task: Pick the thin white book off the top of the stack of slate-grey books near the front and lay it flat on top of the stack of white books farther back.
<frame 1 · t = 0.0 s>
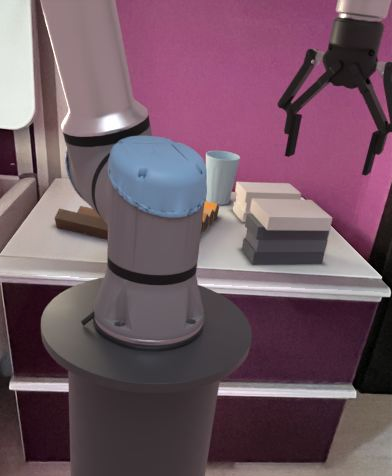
hand: (326, 164, 94), 18 cm above the table, tool pointing down, fingers open, 13 cm apart
cup: (217, 201, 130), on the table
white book: (288, 220, 102), point 7 cm above the table, touching grey books
white books: (264, 217, 124), on the table
grey books: (281, 256, 106), on the table
pan flute: (141, 223, 114), on the table
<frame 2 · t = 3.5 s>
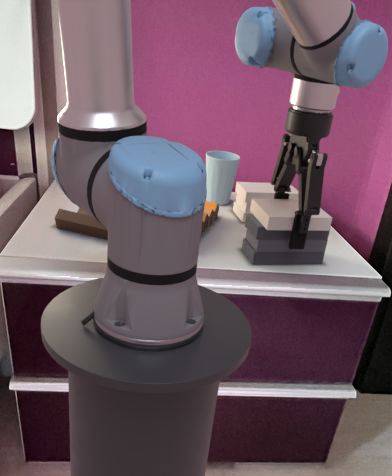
hand: (285, 237, 104), 4 cm above the table, tool pointing down, fingers closed on white book, 9 cm apart
white book: (288, 220, 102), point 7 cm above the table, touching grey books, gripper
everything else where it was.
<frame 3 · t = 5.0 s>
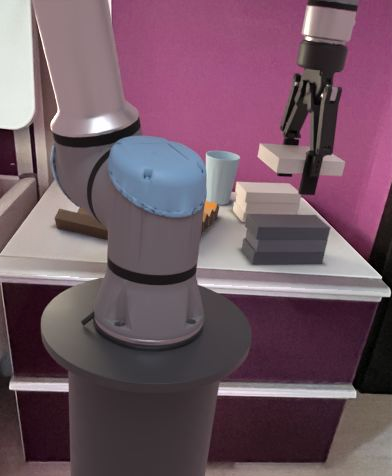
hand: (294, 184, 99), 14 cm above the table, tool pointing down, fingers closed on white book, 9 cm apart
white book: (298, 166, 97), point 17 cm above the table, touching gripper
everything else where it was.
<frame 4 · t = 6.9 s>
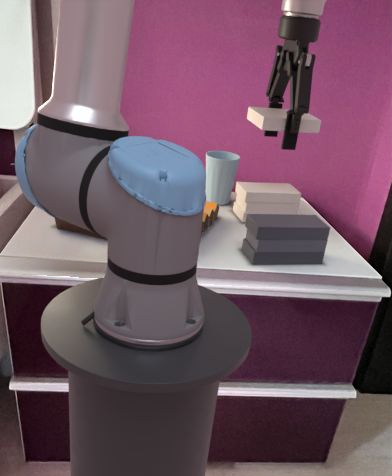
hand: (279, 142, 114), 16 cm above the table, tool pointing down, fingers closed on white book, 9 cm apart
white book: (282, 125, 113), point 19 cm above the table, touching gripper
everything else where it was.
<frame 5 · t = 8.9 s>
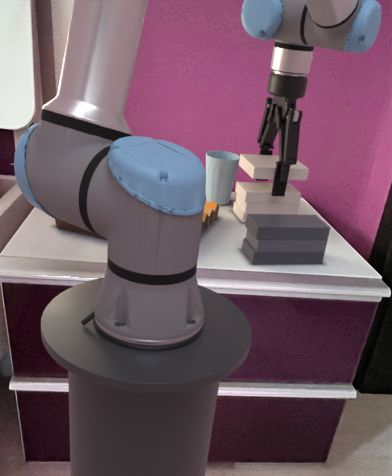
hand: (269, 187, 121), 7 cm above the table, tool pointing down, fingers closed on white book, 9 cm apart
white book: (272, 172, 119), point 10 cm above the table, touching gripper
everything else where it was.
when the fingers open (3 cm above the table, at t = 10.3 s): white book stays where it is, resting on white books.
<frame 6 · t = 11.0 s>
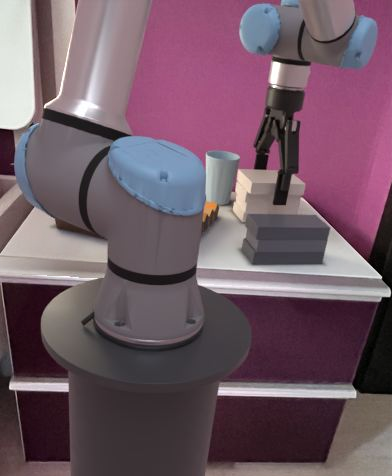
hand: (267, 194, 121), 5 cm above the table, tool pointing down, fingers open, 13 cm apart
white book: (269, 187, 121), point 7 cm above the table, touching white books
everything else where it was.
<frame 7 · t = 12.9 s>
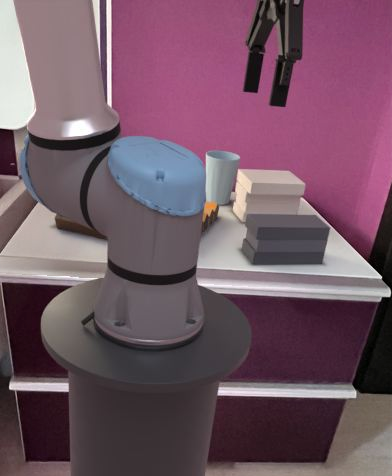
hand: (262, 99, 98), 26 cm above the table, tool pointing down, fingers open, 13 cm apart
nothing on the table moved.
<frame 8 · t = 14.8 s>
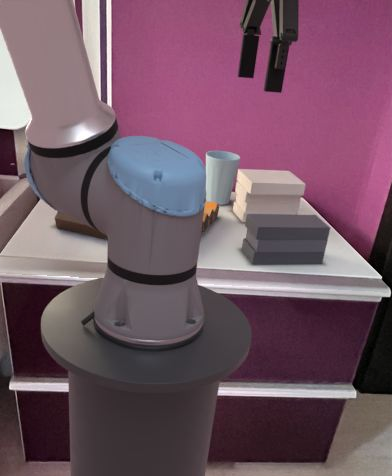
hand: (258, 84, 93), 29 cm above the table, tool pointing down, fingers open, 13 cm apart
nothing on the table moved.
at the end: white book 0.1 cm off-centre on the white books, point 6.6 cm above the white books's base; white book tilted 0° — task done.
